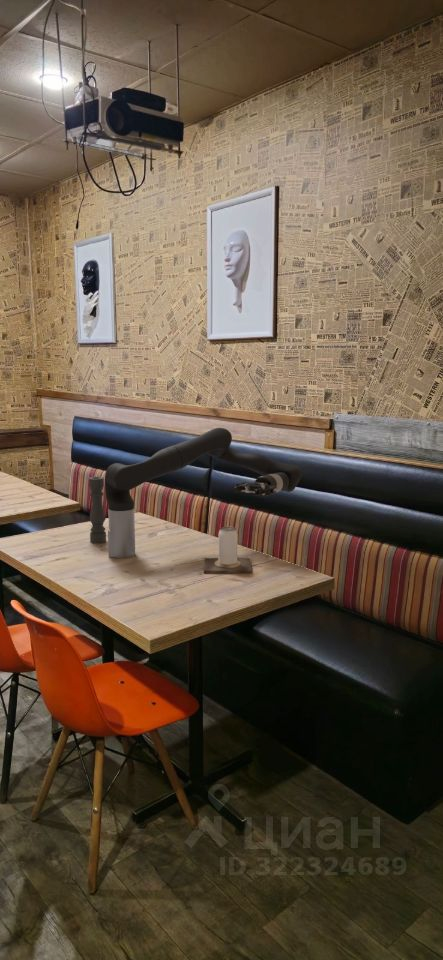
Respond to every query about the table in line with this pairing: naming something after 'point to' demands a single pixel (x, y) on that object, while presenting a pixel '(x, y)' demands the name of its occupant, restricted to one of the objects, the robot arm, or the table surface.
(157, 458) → the robot arm
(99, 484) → the candle holder
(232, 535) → the can
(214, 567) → the rest board
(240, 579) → the table surface
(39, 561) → the table surface
